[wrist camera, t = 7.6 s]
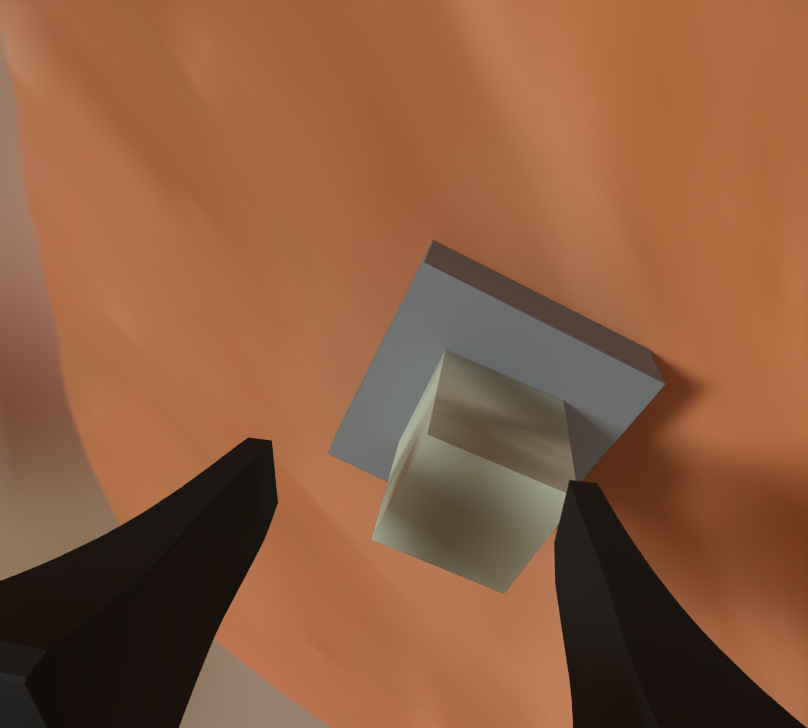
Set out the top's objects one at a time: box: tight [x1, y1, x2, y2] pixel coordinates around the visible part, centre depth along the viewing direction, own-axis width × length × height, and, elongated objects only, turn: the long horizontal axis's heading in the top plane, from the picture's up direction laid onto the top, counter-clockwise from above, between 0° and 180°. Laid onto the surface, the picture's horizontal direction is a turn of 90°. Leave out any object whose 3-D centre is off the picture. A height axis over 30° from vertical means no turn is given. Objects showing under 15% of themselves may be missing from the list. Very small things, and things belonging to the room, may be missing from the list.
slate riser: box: [327, 240, 665, 482], centre depth 22 cm, size 9×9×3 cm
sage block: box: [372, 349, 576, 594], centre depth 19 cm, size 4×4×5 cm
